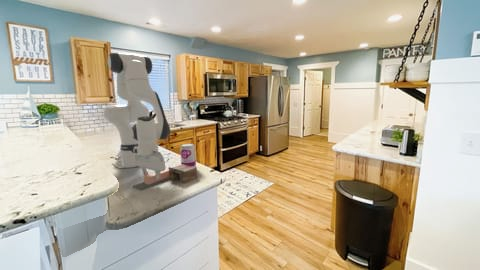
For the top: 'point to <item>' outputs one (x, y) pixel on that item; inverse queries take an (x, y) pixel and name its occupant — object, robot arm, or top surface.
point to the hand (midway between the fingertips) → (151, 177)
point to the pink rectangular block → (151, 179)
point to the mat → (144, 185)
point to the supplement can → (188, 155)
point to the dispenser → (183, 173)
